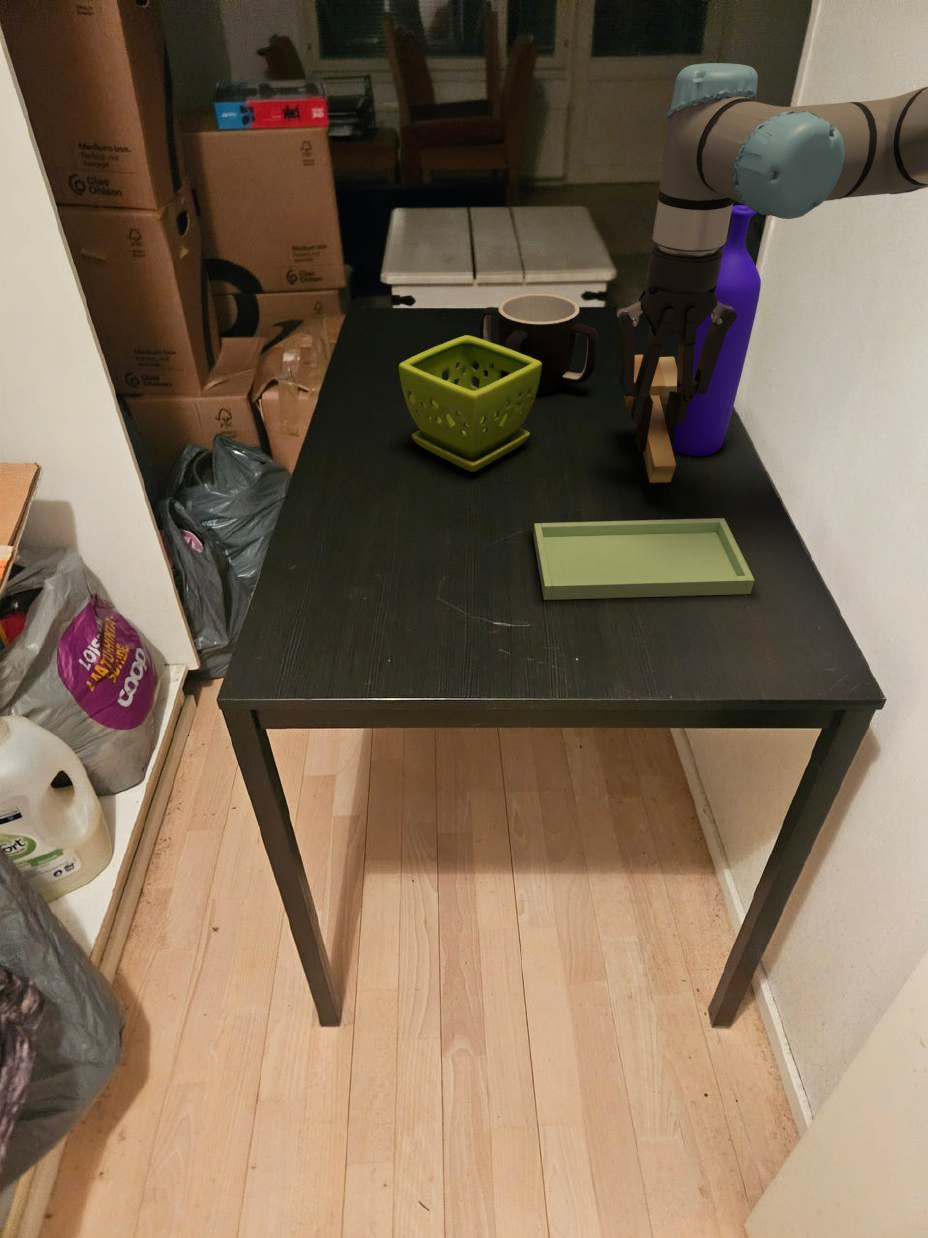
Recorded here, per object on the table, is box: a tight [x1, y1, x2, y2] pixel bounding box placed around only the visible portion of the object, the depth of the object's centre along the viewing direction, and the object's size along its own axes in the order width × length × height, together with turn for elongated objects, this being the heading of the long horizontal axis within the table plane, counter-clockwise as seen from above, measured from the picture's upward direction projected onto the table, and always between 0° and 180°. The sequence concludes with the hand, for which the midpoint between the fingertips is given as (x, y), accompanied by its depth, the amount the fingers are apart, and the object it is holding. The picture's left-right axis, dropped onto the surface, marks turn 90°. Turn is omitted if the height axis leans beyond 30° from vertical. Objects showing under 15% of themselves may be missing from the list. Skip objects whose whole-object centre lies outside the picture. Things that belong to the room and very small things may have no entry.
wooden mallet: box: [623, 354, 677, 484], centre depth 97 cm, size 19×7×4 cm, turn 2°
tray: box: [533, 517, 755, 601], centre depth 87 cm, size 23×12×2 cm, turn 92°
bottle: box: [672, 204, 762, 457], centre depth 97 cm, size 8×8×30 cm
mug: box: [479, 293, 600, 395], centre depth 118 cm, size 16×16×12 cm
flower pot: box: [398, 334, 542, 473], centre depth 103 cm, size 14×14×13 cm
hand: (653, 444), depth 96 cm, fingers closed on wooden mallet, 3 cm apart
